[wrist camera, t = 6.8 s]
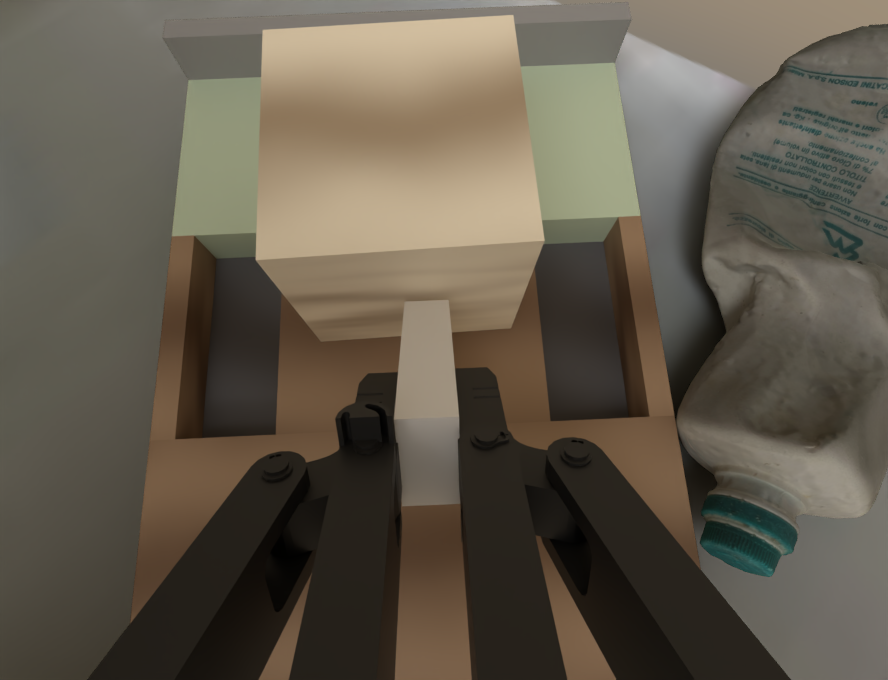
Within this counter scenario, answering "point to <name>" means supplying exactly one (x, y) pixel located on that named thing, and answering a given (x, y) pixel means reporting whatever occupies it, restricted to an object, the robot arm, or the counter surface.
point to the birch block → (396, 173)
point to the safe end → (537, 27)
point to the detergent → (797, 304)
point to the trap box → (348, 361)
